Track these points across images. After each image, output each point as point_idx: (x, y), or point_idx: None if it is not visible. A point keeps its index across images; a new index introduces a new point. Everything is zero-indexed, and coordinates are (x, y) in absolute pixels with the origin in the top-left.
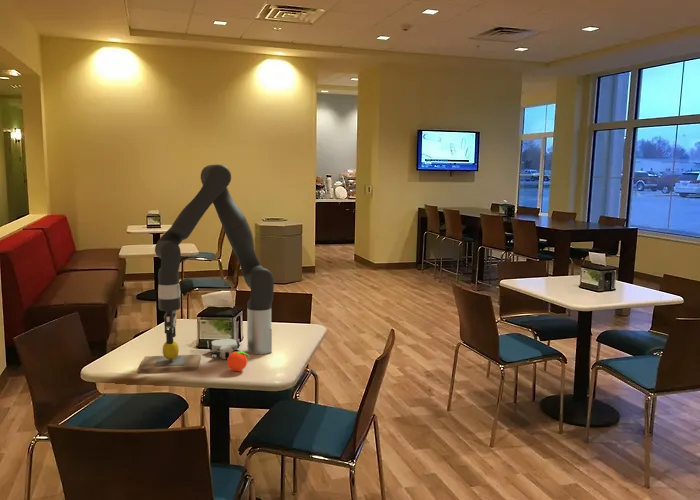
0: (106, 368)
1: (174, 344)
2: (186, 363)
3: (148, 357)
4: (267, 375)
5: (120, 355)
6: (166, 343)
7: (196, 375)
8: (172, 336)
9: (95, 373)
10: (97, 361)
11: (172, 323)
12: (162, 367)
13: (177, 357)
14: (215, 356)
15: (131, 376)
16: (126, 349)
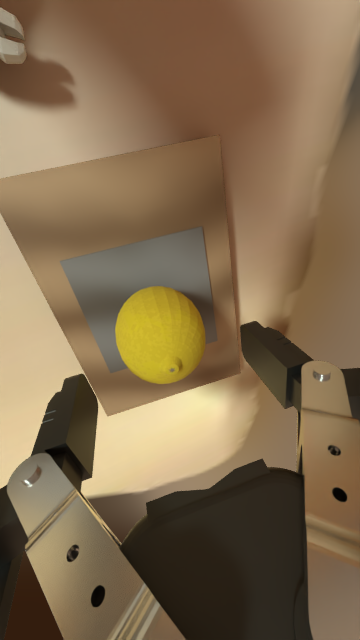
0: (195, 447)
1: (187, 321)
2: (176, 221)
3: (117, 400)
4: None
5: None
6: (195, 367)
7: (277, 132)
8: (285, 349)
9: (231, 446)
10: (142, 488)
11: (302, 476)
12: (230, 307)
13: (98, 297)
14: (14, 16)
15: None
16: None
